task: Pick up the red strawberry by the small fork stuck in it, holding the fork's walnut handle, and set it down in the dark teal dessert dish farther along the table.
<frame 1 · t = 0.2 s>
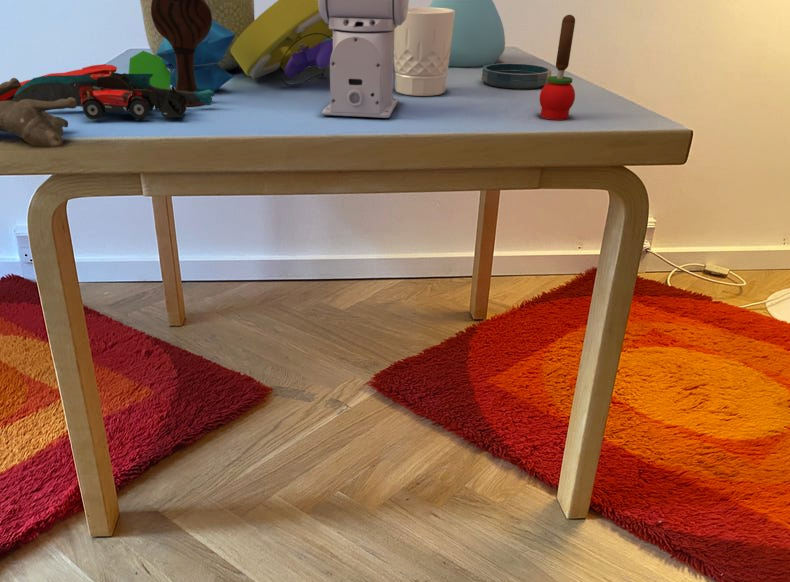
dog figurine: (43, 103, 74), point 3 cm above the table
crystal: (200, 91, 95), on the table
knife: (103, 71, 80), point 5 cm above the table
loader: (132, 117, 81), on the table
gemstone: (150, 74, 90), point 3 cm above the table
sugar bowl: (457, 62, 119), on the table
planter: (204, 69, 109), on the table
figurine: (190, 104, 88), on the table
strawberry: (554, 116, 83), on the table
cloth: (63, 72, 91), point 3 cm above the table
game controller: (320, 84, 100), on the table, touching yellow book
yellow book: (281, 15, 100), point 8 cm above the table, touching game controller
white cup: (419, 93, 96), on the table
dish: (515, 83, 101), on the table
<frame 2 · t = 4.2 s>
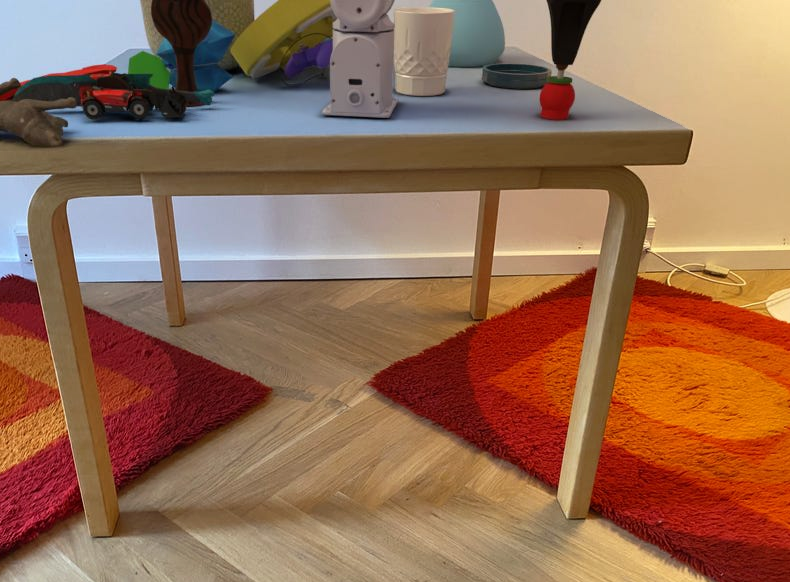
hand: (562, 63, 80), 6 cm above the table, tool pointing down, fingers closed on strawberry
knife: (103, 71, 80), point 5 cm above the table, touching loader
loader: (132, 117, 81), on the table, touching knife
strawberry: (554, 116, 83), on the table, touching gripper
everything else where it was.
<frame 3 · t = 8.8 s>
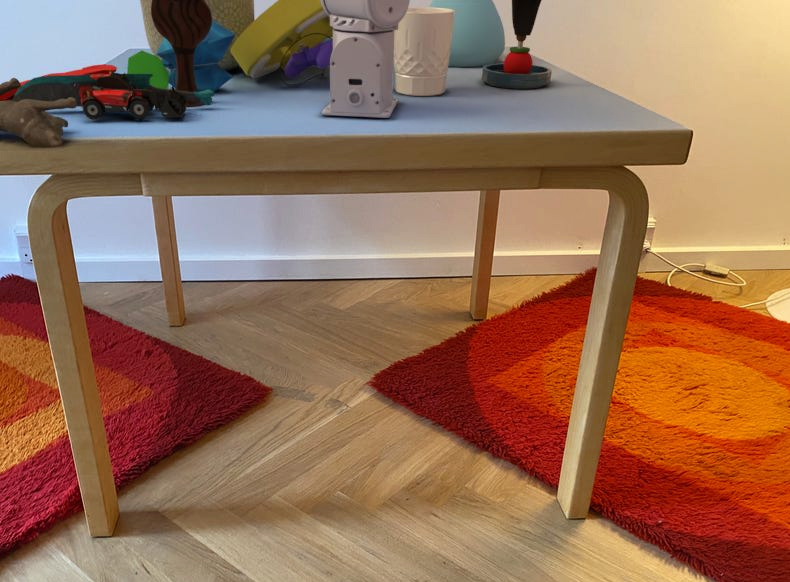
hand: (521, 31, 98), 7 cm above the table, tool pointing down, fingers open, 7 cm apart
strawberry: (516, 80, 101), resting on dish
everything else where it was.
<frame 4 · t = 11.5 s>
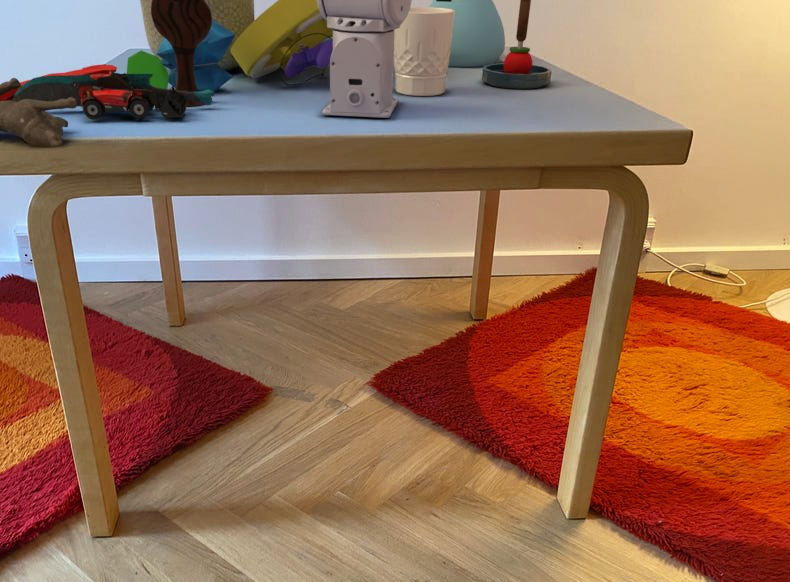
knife: (103, 71, 80), point 5 cm above the table
loader: (132, 117, 81), on the table
everything else where it was.
at the end: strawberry 0.1 cm off-centre in the dish, point 0.4 cm above the dish's base; the gripper is holding nothing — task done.
